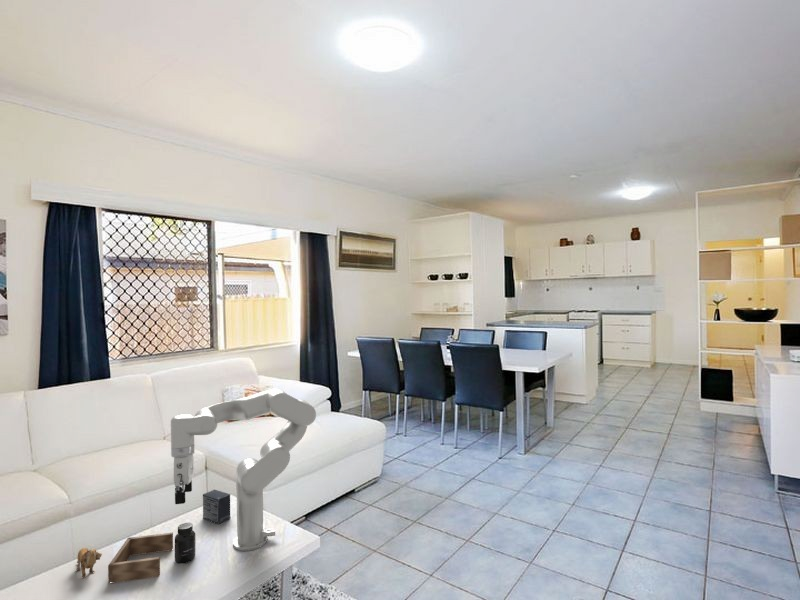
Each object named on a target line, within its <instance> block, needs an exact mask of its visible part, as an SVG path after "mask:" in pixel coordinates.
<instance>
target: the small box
mask: <svg viewBox="0 0 800 600" xmlns="http://www.w3.org/2000/svg"><path fill="white" fill-rule="evenodd" d="M229 518H230V519H231V493H227V492H224V491H221V490H217V489H212V490H210V491H208V492H205V493H203V494H202V519H203V520H206V521H208V522H211V521H212V522H211V523H214V522H215V523H214V524H216V523H217V525H220V524H221V523H224V522H226V521H227V519H228V520H230V519H229ZM225 520H226V521H225ZM223 521H224V522H223Z"/></svg>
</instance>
